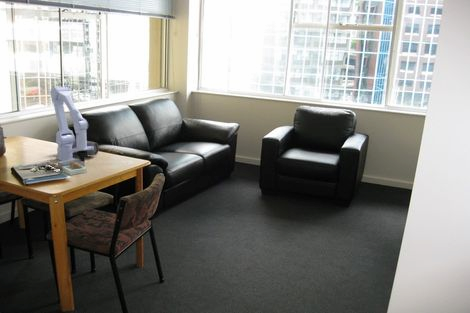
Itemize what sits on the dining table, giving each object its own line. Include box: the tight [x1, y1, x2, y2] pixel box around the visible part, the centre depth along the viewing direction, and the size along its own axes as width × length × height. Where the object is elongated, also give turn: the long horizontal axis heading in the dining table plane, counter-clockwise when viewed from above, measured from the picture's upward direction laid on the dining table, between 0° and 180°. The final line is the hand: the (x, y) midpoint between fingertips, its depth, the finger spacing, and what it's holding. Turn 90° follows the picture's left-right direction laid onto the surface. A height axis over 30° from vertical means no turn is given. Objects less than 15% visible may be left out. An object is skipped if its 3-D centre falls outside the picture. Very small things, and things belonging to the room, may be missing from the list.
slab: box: [57, 158, 86, 169], centre depth 264 cm, size 9×12×3 cm
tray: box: [61, 165, 88, 176], centre depth 255 cm, size 10×9×2 cm
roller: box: [70, 162, 82, 170], centre depth 255 cm, size 6×4×4 cm
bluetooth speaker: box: [72, 139, 100, 157], centre depth 288 cm, size 23×9×10 cm, turn 76°
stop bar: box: [46, 161, 61, 169], centre depth 256 cm, size 12×2×3 cm, turn 47°
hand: (82, 162), depth 269 cm, fingers closed
